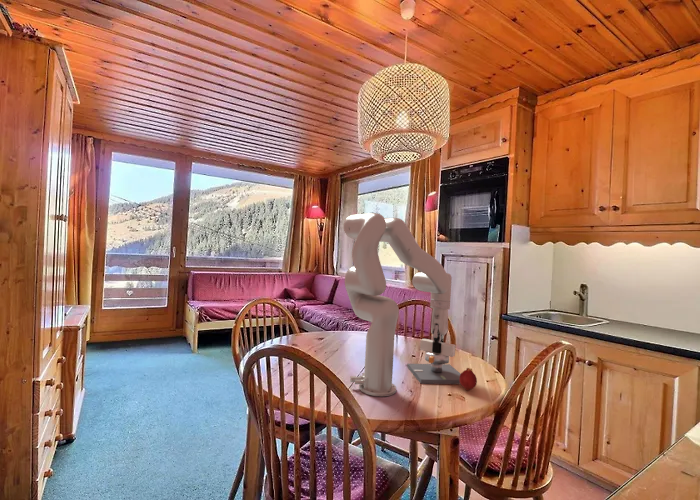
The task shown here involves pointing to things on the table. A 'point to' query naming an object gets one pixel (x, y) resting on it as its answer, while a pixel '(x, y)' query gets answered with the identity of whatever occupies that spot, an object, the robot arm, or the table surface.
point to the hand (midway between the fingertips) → (437, 351)
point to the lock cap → (436, 357)
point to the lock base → (435, 373)
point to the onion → (468, 379)
